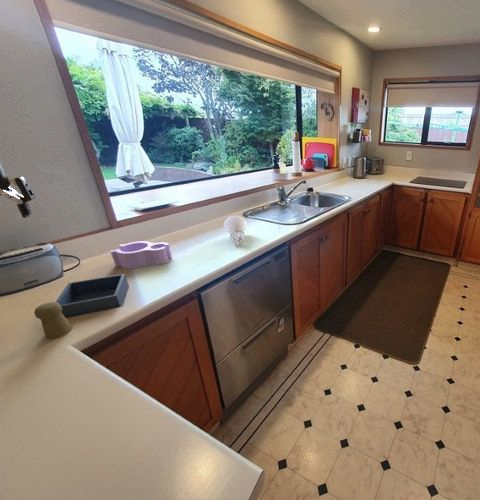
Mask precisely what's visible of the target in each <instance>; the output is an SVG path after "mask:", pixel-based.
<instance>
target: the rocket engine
mask: <svg viewBox="0 0 480 500" xmlns="http://www.w3.org/2000/svg"><path fill="white" fill-rule="evenodd" d="M223 227H224V229H225V231H226V232H227V233H228V235H230V237H231V241H233V242H234V246H235V247H239V245H245V241H246V238H245V234H246V231H247V227H248V222H247V220H246V219H245V218H244V217H243V216H240V215H231V216H229V217H227V218H226V219H225V221H224V222H223Z"/></svg>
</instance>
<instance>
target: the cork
mask: <svg viewBox="0 0 480 500" xmlns="http://www.w3.org/2000/svg"><path fill="white" fill-rule="evenodd" d="M61 311H62V307H61V305H60V304H59V303H56V301H50V302H49V301H48V302H46V303H43V304H40V305H38V306H37V307H35V309H34V311H33V314H34V316H35V318H37V319H38V320H40V322H41V325H42V329H43V332H44V336H45V339H47V340H54V339H59V338H61V337H64V336H66V335H68V334H69V333H70V332H72V330H73V325H72V324H71V323H70V322H69V321H68V318H65V317H64V315H63V314H62V313H61Z"/></svg>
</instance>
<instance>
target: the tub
mask: <svg viewBox="0 0 480 500" xmlns="http://www.w3.org/2000/svg"><path fill="white" fill-rule="evenodd" d="M129 288H130V285H129V281H128V279H127V276H126V274H125V273H121V274H115V275H108V276H103V277H96V278H90V279H85V280H79V281H77V280H76V281H72V282H68V283H67V285H66V286H65V288H63V290H62V292H61V293H60V295H59V296H58V298H57V299H56V301H55V302H56V303H59V304H60V305H61V307H62V311H61V313H62V314H63V315H64V317H65V318H66V319H69V318H74V317H79V316H83V315H88V314H93V313H97V312H103V311H108V310H113V309H118V308H122V307H123V306H124V303H125V300H126V298H127V297H126V296H127V294H128V291H129Z"/></svg>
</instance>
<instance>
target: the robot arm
mask: <svg viewBox="0 0 480 500" xmlns="http://www.w3.org/2000/svg"><path fill="white" fill-rule="evenodd" d="M11 184H13V185H14V186H15V187H17V188H18V189H19V191H20V193H21V194H20V193H18V191H17V190H15V189H13V188H12V187H11V186H10V185H11ZM0 196H1V197H2V196H3V197H4V198H6V199H8V200H11V201H13V202H14V203H16V207H17V208H18V211H19V213H20V215H21V217H22V218H23V219H25V218H29V217H30V216H31V214H32V209H31V207H30V205H29V203H28V202H30V201H33V200H34V199H35V198H36V195H35V193H34V192H33V189H32V188H31V186H30V184H29V182H28V180H27V178H26V177H25V176H23V175H21V176H18V177H9V176H7V175H6V173H5V170H4V168H3V165H2V164H1V163H0Z"/></svg>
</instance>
